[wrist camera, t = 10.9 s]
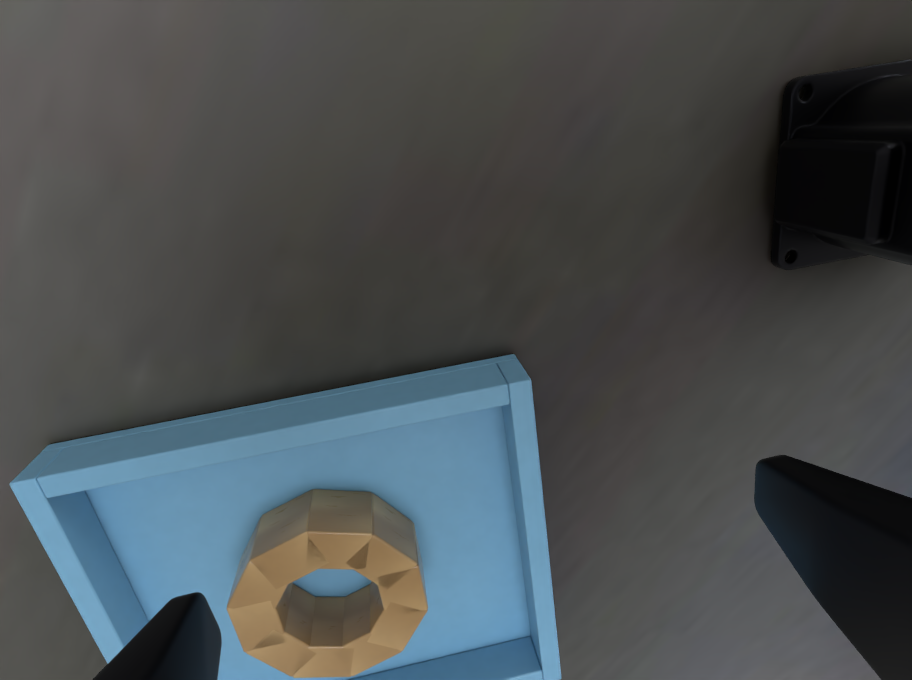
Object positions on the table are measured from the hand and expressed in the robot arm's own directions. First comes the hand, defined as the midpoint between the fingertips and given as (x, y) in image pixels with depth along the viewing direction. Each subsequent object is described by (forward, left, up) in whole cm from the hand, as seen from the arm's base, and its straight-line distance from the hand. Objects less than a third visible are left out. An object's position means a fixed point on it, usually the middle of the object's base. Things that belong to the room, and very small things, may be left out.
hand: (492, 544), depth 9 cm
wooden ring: (+5, +9, -11) cm, 15 cm away
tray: (+5, +9, -12) cm, 16 cm away
